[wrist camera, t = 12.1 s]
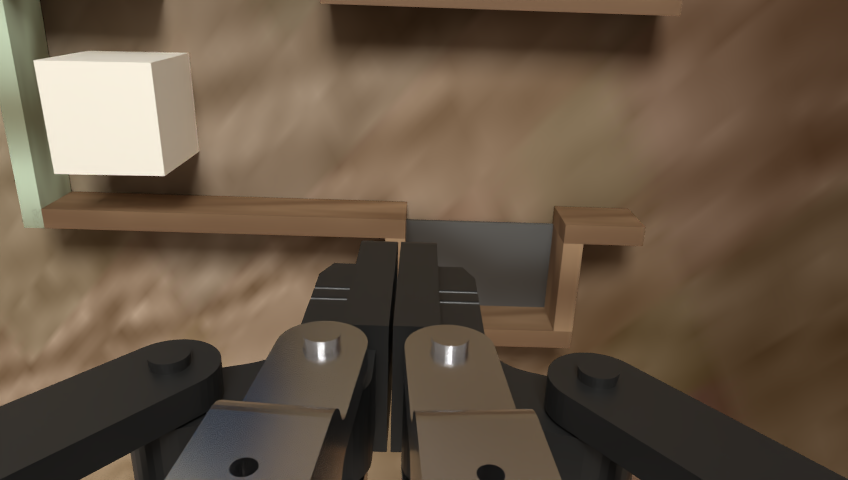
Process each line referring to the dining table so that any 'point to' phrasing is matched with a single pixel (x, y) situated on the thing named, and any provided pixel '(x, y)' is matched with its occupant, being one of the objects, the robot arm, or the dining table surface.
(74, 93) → the block
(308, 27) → the dining table surface
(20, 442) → the robot arm
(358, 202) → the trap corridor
